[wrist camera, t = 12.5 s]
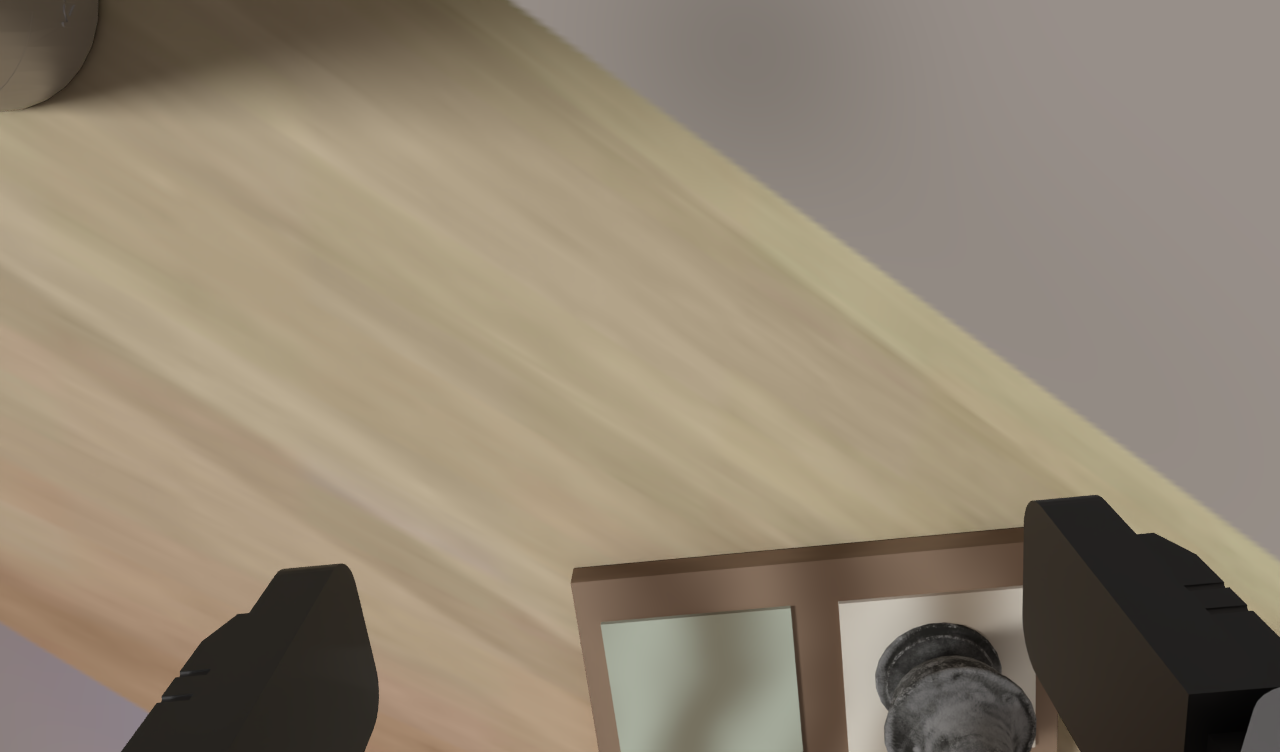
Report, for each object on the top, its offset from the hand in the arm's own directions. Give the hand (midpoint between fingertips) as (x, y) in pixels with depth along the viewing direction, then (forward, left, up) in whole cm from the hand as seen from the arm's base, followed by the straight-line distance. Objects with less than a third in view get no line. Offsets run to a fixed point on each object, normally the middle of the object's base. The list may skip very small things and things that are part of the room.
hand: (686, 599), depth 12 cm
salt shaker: (+9, -21, -26) cm, 34 cm away
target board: (+4, -21, -27) cm, 34 cm away
